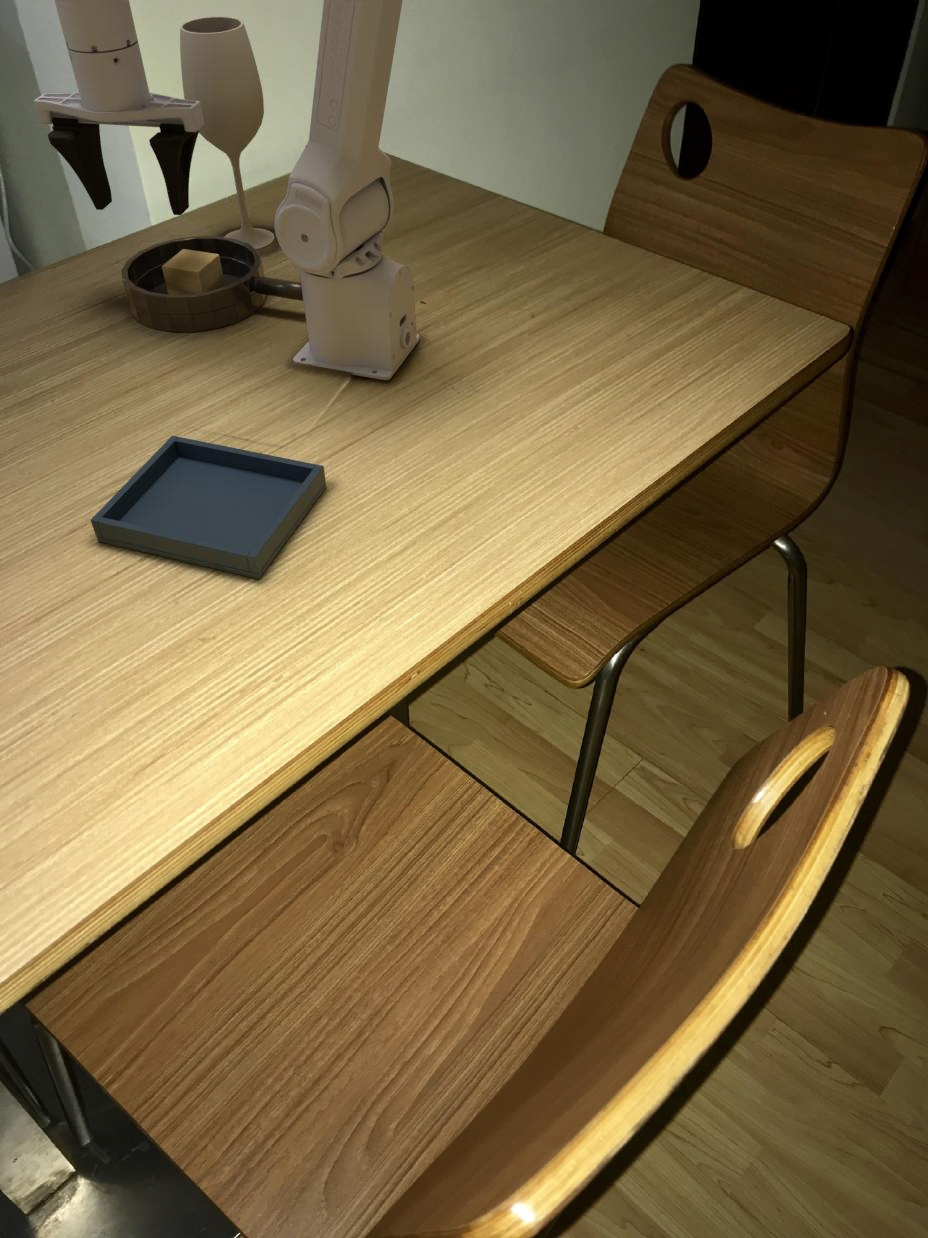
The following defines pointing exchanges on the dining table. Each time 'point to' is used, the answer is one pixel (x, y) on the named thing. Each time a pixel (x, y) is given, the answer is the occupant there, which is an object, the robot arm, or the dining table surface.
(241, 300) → the pan
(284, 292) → the pan handle
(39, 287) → the dining table surface
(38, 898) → the dining table surface
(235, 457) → the tray
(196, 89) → the wineglass
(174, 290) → the cube
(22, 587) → the dining table surface
